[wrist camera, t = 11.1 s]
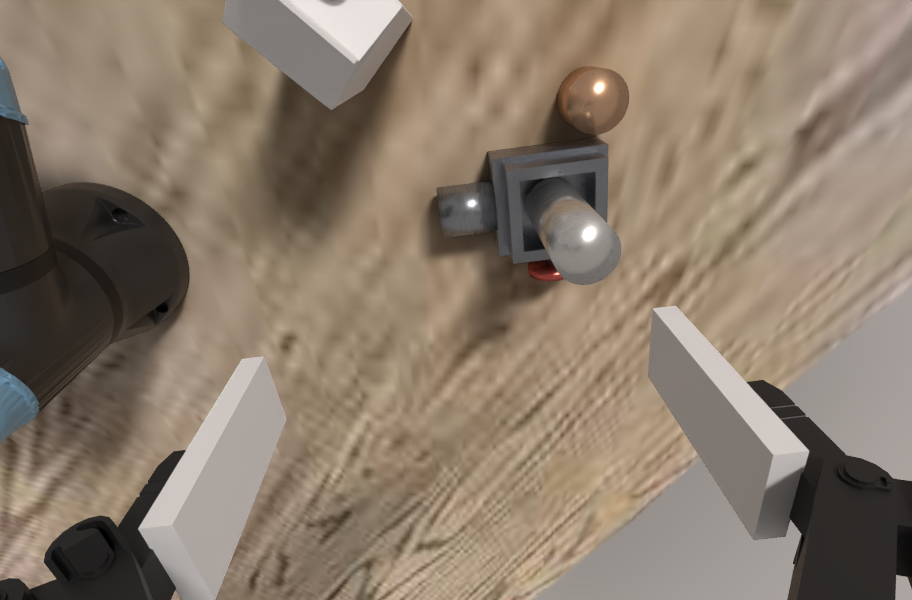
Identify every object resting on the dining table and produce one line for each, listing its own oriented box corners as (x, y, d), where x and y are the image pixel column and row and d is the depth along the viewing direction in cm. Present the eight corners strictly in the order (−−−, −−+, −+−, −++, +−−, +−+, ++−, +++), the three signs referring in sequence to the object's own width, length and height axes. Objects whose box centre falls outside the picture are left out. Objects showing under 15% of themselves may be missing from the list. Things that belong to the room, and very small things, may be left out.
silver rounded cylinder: (527, 231, 46) (554, 288, 35) (524, 181, 43) (552, 226, 33) (577, 224, 45) (620, 280, 35) (576, 174, 43) (622, 217, 33)
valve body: (449, 274, 51) (451, 304, 45) (433, 158, 46) (433, 175, 40) (595, 256, 51) (615, 283, 45) (596, 137, 45) (619, 150, 40)
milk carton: (363, 90, 43) (317, 120, 26) (292, 30, 41) (189, 20, 24) (414, 17, 41) (398, -2, 24) (340, -51, 38) (265, -125, 21)
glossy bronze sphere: (557, 130, 45) (568, 138, 42) (556, 70, 43) (566, 73, 39) (612, 123, 45) (627, 130, 41) (614, 62, 43) (630, 64, 39)
